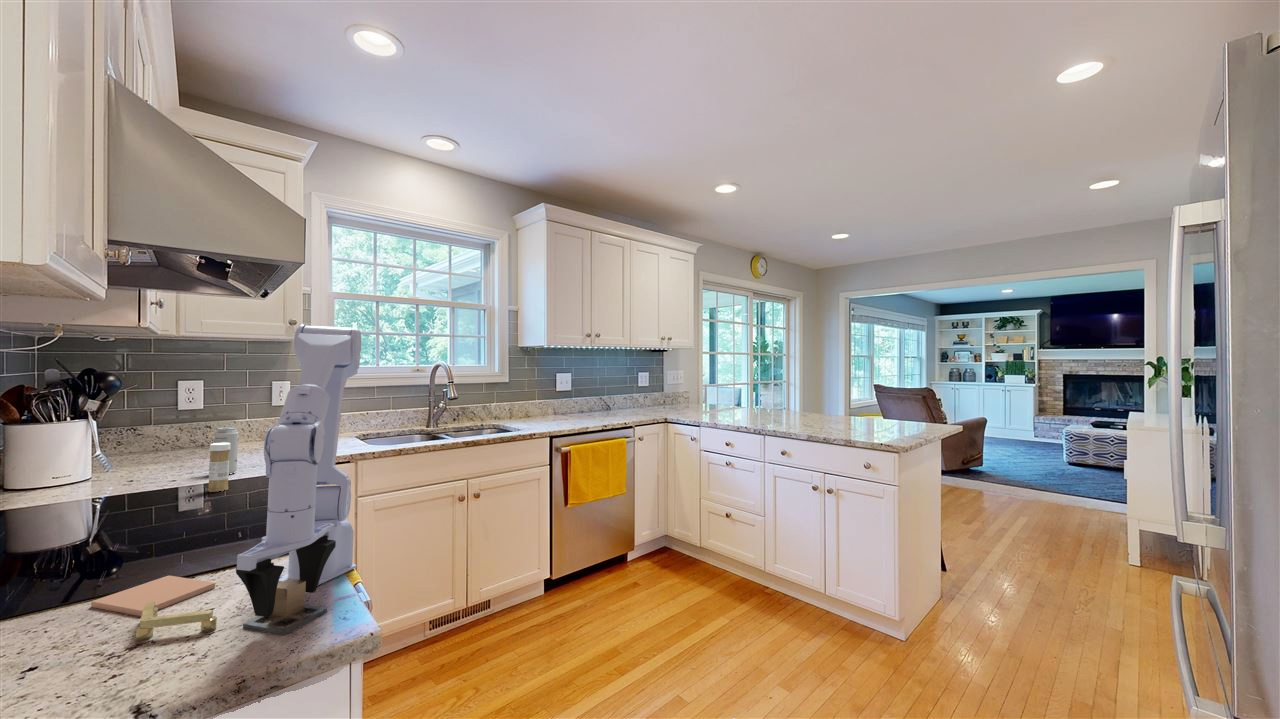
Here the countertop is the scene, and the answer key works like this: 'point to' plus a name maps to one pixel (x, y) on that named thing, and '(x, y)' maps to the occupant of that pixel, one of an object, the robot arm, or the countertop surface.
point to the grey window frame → (287, 609)
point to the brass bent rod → (171, 621)
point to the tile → (153, 594)
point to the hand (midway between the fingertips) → (287, 602)
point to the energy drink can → (230, 437)
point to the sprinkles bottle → (219, 467)
